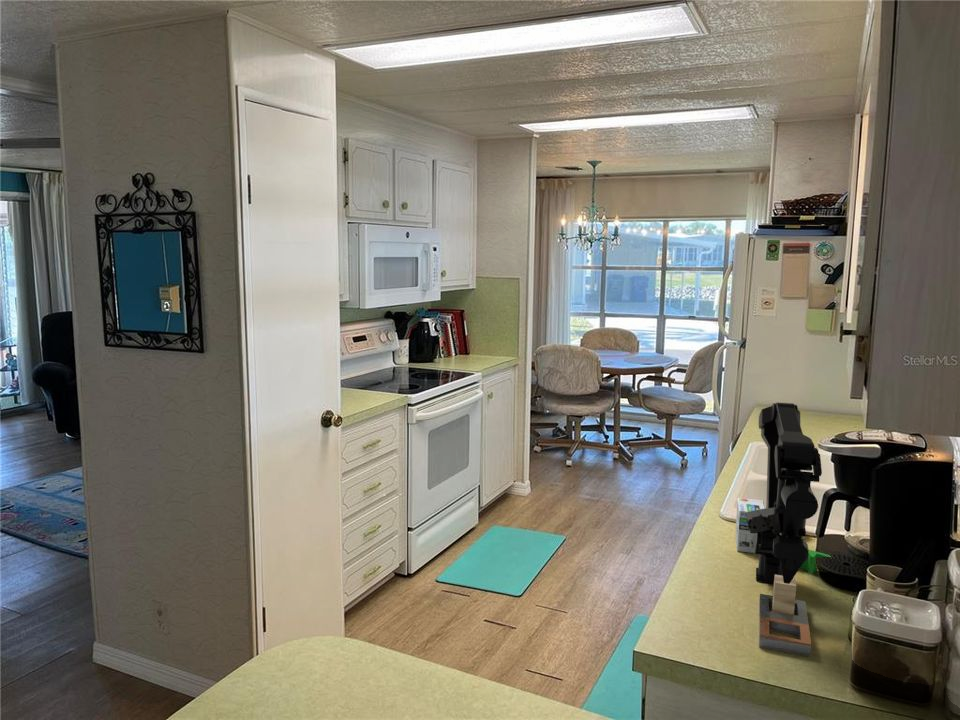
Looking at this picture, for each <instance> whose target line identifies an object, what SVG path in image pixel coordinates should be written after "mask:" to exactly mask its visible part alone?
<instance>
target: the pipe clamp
mask: <svg viewBox="0 0 960 720" xmlns="http://www.w3.org/2000/svg"><path fill="white" fill-rule="evenodd" d="M808 550H809V551H808V560H806V561H805V562H804V563H803V564H802V566H801V567H800V569H803V568H804V570H806V571H807V572H808V574H809V575H813V574H814V573H815V572H818V571H817V568H816V563H815V562H816V558H818V557H831V556H832V555H831V556H830V554H828V553H827V554H826V553H823V552H818V551H815V550H811V549H809V548H808ZM831 558H832V557H831ZM814 571H815V572H814Z"/></svg>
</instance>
